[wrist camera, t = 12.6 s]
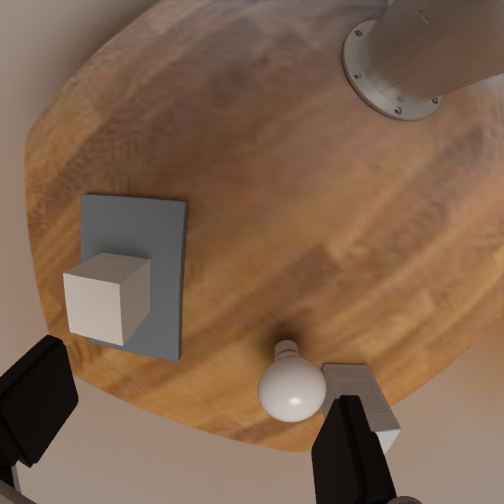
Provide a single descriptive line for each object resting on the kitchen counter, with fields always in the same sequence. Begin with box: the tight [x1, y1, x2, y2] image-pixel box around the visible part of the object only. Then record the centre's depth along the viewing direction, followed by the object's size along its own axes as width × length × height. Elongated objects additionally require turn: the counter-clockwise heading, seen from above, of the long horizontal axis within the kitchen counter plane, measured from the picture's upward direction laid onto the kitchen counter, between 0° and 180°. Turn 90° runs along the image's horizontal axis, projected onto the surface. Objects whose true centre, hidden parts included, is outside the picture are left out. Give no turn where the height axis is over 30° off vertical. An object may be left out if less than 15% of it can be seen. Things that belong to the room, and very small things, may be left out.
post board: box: [81, 193, 189, 362], centre depth 27 cm, size 18×12×8 cm, turn 173°
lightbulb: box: [258, 340, 326, 422], centre depth 27 cm, size 6×6×11 cm
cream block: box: [63, 252, 151, 346], centre depth 26 cm, size 6×6×8 cm
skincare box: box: [321, 364, 401, 454], centre depth 28 cm, size 6×4×12 cm
